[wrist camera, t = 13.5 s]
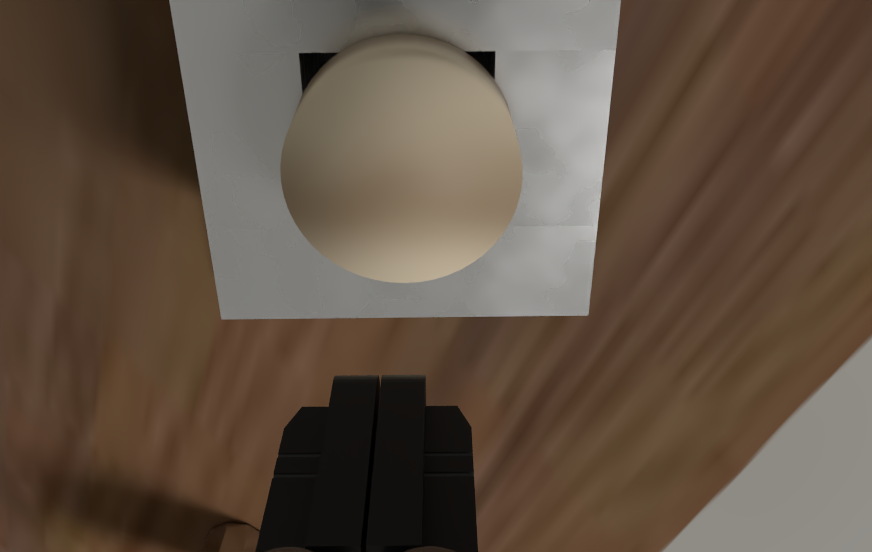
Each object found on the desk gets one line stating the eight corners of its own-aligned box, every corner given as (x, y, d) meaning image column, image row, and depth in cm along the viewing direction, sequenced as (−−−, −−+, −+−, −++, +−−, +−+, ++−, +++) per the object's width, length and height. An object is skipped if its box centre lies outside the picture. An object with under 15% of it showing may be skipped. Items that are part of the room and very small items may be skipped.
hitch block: (170, -213, 26) (91, -213, 20) (624, -217, 26) (685, -217, 20) (243, 287, 35) (204, 392, 29) (577, 283, 35) (609, 387, 29)
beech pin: (307, -9, 27) (267, 60, 20) (502, -11, 27) (528, 58, 20) (322, 171, 31) (292, 284, 24) (496, 170, 31) (517, 281, 24)
